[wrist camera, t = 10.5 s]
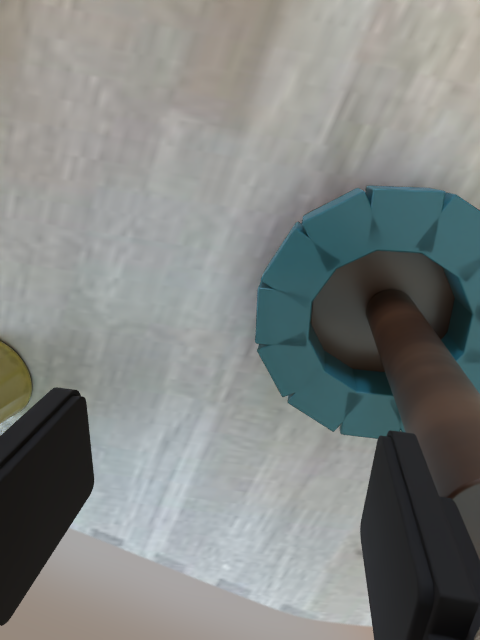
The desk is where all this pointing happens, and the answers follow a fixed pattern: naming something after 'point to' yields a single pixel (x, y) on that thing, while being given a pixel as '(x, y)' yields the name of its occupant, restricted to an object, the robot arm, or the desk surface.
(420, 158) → the desk surface
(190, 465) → the desk surface
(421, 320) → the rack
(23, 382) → the vase
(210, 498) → the desk surface
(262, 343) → the ring
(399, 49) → the desk surface
